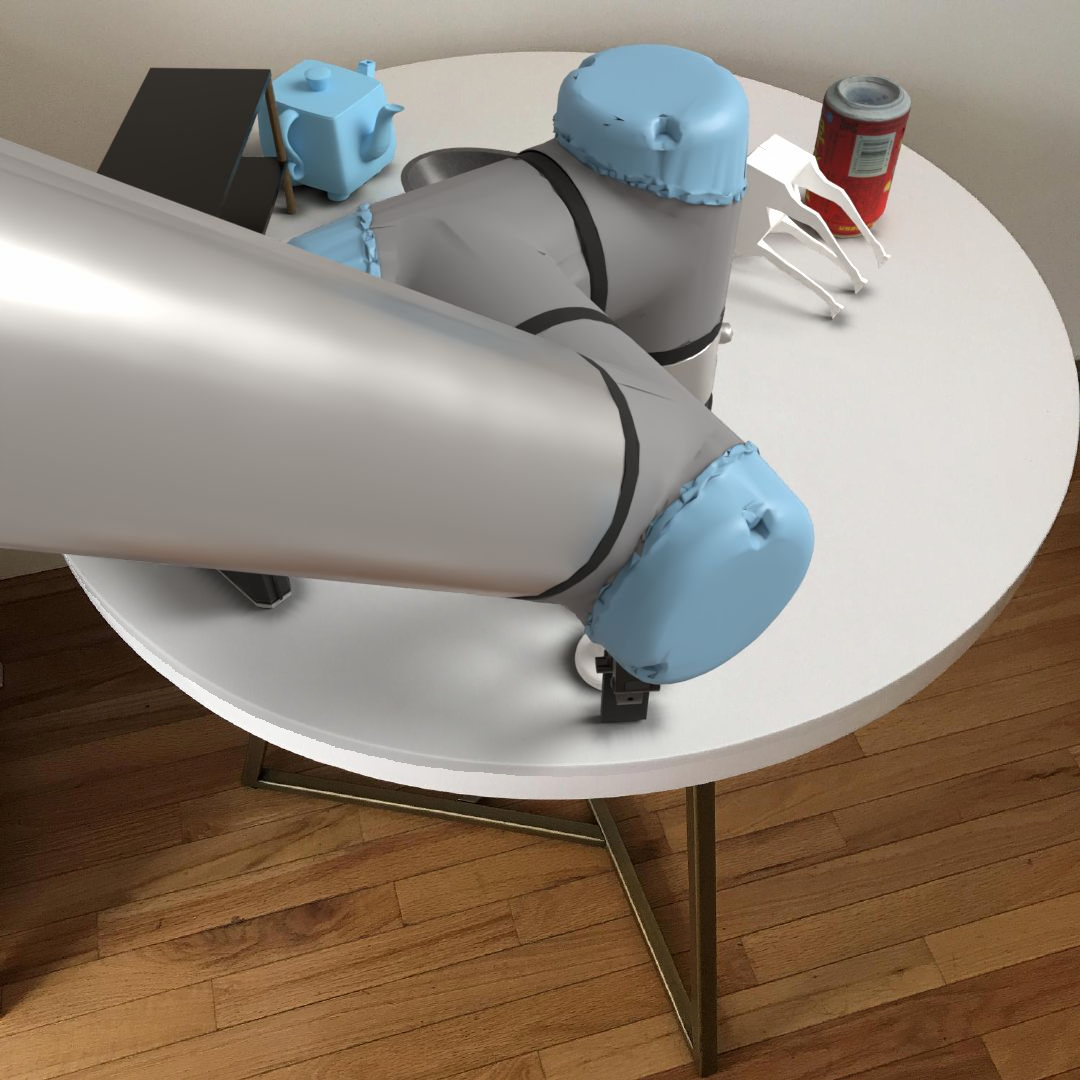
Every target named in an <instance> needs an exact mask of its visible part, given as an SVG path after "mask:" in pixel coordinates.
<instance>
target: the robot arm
mask: <svg viewBox="0 0 1080 1080" xmlns="http://www.w3.org/2000/svg"><path fill="white" fill-rule="evenodd" d="M558 90H559V91H558V93H557V101H556V102H557V103H556V112H555V113H554V114H553V116H552V119H551V120H552V122H553V124H552V126H553V131H552V134H554V137H553V138H551V139H549V140H547V141H545V142H543V143H539V144H536V145H534V146H532V147H528V148H525V149H523V150H521V151H519V152H517V153H518V154H517V155H516V156H514V157H511V158H508V159H505V160H502V161H499V162H496V163H493V164H490V165H487V166H484V167H481V168H478V169H475V170H472V171H469V172H466V173H463V174H460V175H457V176H454V177H451V178H448V179H445V180H442V181H439V182H436V183H433V184H430V185H427V186H424V187H421V188H418V189H415V190H412V191H409V192H406V193H405V192H403V193H401V194H398V195H395V196H392V197H389V198H386V199H382V200H379V201H376V202H374V203H363V204H361V205H359V206H358V207H357V209H356V210H355V212H351V213H349V214H348V215H345V216H343V217H339V218H338V219H335V220H333V221H331V222H329V223H326V224H323V225H321V226H319V227H316V228H314V229H311V230H309V231H307V232H303V233H302V234H299V235H297V236H295V237H293V238H291V239H289V240H288V241H287V242H284V241H281V240H278V239H276V238H273V237H271V236H268V235H266V234H265V235H263V234H260V233H257V232H255V231H252V230H249V229H246V228H244V227H241V226H238V225H236V224H233V223H230V222H227V221H225V220H222V219H219V218H217V217H214V216H211V215H209V214H206V213H203V212H200V211H198V210H195V209H192V208H190V207H187V206H184V205H181V204H179V203H176V202H173V201H171V200H168V199H165V198H163V197H160V196H157V195H154V194H152V193H149V192H146V191H144V190H141V189H138V188H135V187H133V186H130V185H127V184H125V183H122V182H119V181H117V180H114V179H111V178H108V177H106V176H103V175H100V174H98V173H96V172H95V171H93V170H89V169H87V168H84V167H81V166H79V165H75V164H73V163H71V162H68V161H65V160H63V159H59V158H57V157H54V156H51V155H48V154H46V153H43V152H40V151H38V150H35V149H32V148H31V147H27V146H24V145H21V144H20V143H19V144H18V143H16V142H14V141H10V140H8V139H6V138H3V137H0V549H8V550H19V551H29V552H39V553H47V554H59V555H69V556H78V557H87V558H88V557H89V558H99V559H110V560H119V561H129V562H130V561H131V562H137V563H138V562H140V563H149V564H150V563H151V564H157V565H158V564H159V565H168V566H181V567H191V568H200V569H209V570H210V569H211V570H217V569H219V570H229V571H239V572H249V573H259V574H269V575H279V576H288V577H289V578H290V577H292V578H301V579H310V580H311V579H312V580H321V581H331V582H341V583H351V584H361V585H370V586H382V587H392V588H401V589H412V590H423V591H432V592H442V593H450V594H451V593H452V594H461V595H471V596H481V597H490V598H491V597H492V598H501V599H502V598H503V599H510V600H521V601H526V602H532V603H538V604H539V603H540V604H552V605H560V606H563V607H565V608H566V609H568V610H569V611H571V612H572V613H573V614H574V615H575V616H576V618H577V619H578V620H579V621H580V623H581V624H582V626H583V627H584V629H583V632H584V634H585V633H586V635H587V636H588V638H589V639H590V641H591V642H593V643H596V644H599V645H602V646H603V647H604V649H605V650H604V656H603V657H595V666H596V673H597V674H599V673H603V675H602V690H601V692H600V693H601V694H600V695H601V696H600V710H599V711H600V719H601V723H613V722H614V723H615V722H632V721H646V720H647V717H648V708H649V699H650V692H651V693H652V692H660V691H661V685H674V684H678V683H684V682H687V681H690V680H693V679H695V678H698V677H700V676H701V677H702V676H703V675H706V674H708V673H709V672H712V671H714V670H715V669H717V668H719V667H720V666H722V665H724V664H726V663H727V662H728V661H730V660H732V659H733V658H734V657H736V656H737V655H739V654H740V653H741V652H743V650H745V649H746V648H748V647H749V646H750V645H751V644H752V643H754V642H755V641H756V640H757V639H758V638H759V637H760V636H761V635H762V634H763V633H764V632H765V631H766V630H767V629H768V628H769V627H770V626H771V625H772V623H773V622H774V621H775V620H776V619H777V618H778V617H779V615H780V614H781V613H782V612H783V610H784V609H785V608H786V607H787V605H788V604H789V603H790V602H791V600H792V598H793V597H794V596H795V594H796V593H797V591H798V590H799V589H800V587H801V584H802V583H803V581H804V579H805V577H806V576H807V572H808V570H809V567H810V564H811V562H812V558H813V554H814V551H815V540H816V538H815V527H814V523H813V520H812V516H811V515H810V512H809V509H808V508H807V506H806V505H805V503H804V502H803V501H802V500H801V498H799V496H798V495H797V494H796V493H795V492H794V491H793V490H792V489H791V488H790V487H789V485H788V484H787V483H786V482H785V481H784V480H783V479H782V477H781V476H780V475H779V474H778V473H777V472H776V471H775V470H774V469H773V467H772V466H770V464H769V463H768V462H767V461H766V460H765V458H764V457H762V455H761V452H760V448H759V447H758V446H757V445H756V444H755V443H754V442H752V441H751V440H747V441H746V442H745V440H743V439H742V438H741V437H740V436H739V435H738V434H737V433H735V432H734V431H733V430H732V429H731V428H730V427H729V426H728V425H727V424H726V423H724V422H723V421H722V420H721V419H720V418H719V417H718V416H717V415H716V414H715V413H714V412H713V411H712V409H713V400H714V399H713V397H714V395H713V391H714V384H715V378H716V373H717V372H716V371H717V366H718V349H719V345H725V344H727V343H731V341H732V339H733V335H734V331H733V329H732V326H731V324H730V322H725V321H724V316H725V312H726V302H727V297H728V291H729V284H730V278H731V272H732V267H733V266H732V265H733V261H734V260H733V259H734V255H733V254H734V248H735V242H736V236H737V230H738V224H739V218H740V212H741V205H742V199H743V197H744V196H745V193H746V190H747V179H746V167H747V155H748V153H749V152H748V151H749V141H750V140H749V139H750V138H749V137H750V108H749V101H748V97H747V94H746V92H745V90H744V87H743V86H742V84H741V82H740V81H739V80H738V79H737V78H736V76H735V75H734V74H733V73H732V71H730V70H729V69H727V68H725V67H724V66H721V65H719V64H717V63H715V62H714V60H713V59H712V58H711V57H709V56H707V55H705V54H703V53H701V52H697V51H694V50H691V49H688V48H684V47H679V46H675V45H667V44H660V43H659V44H658V43H638V44H628V45H626V44H625V45H620V46H615V47H611V48H608V49H605V50H602V51H597V52H595V53H594V54H590V55H589V56H587V57H586V58H584V59H583V60H582V61H581V63H580V65H579V66H578V67H577V68H576V69H572V70H571V71H570V72H568V74H567V75H566V76H565V77H564V78H563V80H562V82H561V84H560V86H559V89H558Z"/></svg>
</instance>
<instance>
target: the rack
mask: <svg viewBox="0 0 1080 1080" xmlns="http://www.w3.org/2000/svg"><path fill="white" fill-rule="evenodd" d="M272 81H273V79H272V70H271V68H211V67H208V68H207V67H202V68H201V67H149V69H148V71H147V73H146V74H145V77H144V79H143V81H142V82H141V85H140V87H139V88H138V90H137V93H136V94H135V97H134V98H133V100H132V103H131V104H130V106H129V108H128V110H127V112H126V114H125V116H124V118H123V119H122V122H121V124H120V125H119V128H118V130H117V131H116V133H115V136H114V138H113V139H112V142H111V143H110V144H109V147H108V149H107V152H105V154H104V157H103V158H102V161H101V163H100V165H99V166H98V168H97V171H96V172H95V173H98V174H100V175H103V176H106V177H108V178H111V179H114V180H117V181H119V182H122V183H125V184H127V185H130V186H133V187H135V188H138V189H141V190H144V191H146V192H149V193H152V194H154V195H157V196H160V197H163V198H165V199H168V200H171V201H173V202H176V203H179V204H181V205H184V206H187V207H190V208H192V209H195V210H198V211H200V212H203V213H206V214H209V215H211V216H214V217H217V218H219V219H222V220H225V221H227V222H230V223H233V224H236V225H238V226H241V227H244V228H246V229H249V230H252V231H255V232H257V233H260V234H263V235H265V236H266V233H267V231H268V227H269V225H270V221H271V218H272V215H273V212H274V208H275V205H276V202H277V199H278V196H279V193H280V190H281V187H282V190H283V195H284V200H285V205H286V210H287V213H288V214H290V215H294V214H296V213H297V212H298V210H297V209H298V208H297V206H296V200H295V199H296V198H295V194H294V189H293V186H292V183H291V178H290V173H289V168H288V158H287V157H286V152H285V147H284V142H283V136H282V131H281V126H280V121H279V116H278V110H277V105H276V100H275V95H274V89H273V84H272ZM264 95H265V99H266V104H267V109H268V114H269V119H270V124H271V129H272V135H273V140H274V145H275V150H276V155H277V157H263V156H252V155H251V156H247V155H245V156H243V154H244V151H245V149H246V145H247V143H248V140H249V137H250V135H251V132H252V129H253V127H254V124H255V122H256V119H257V117H258V111H259V108H260V106H261V103H262V100H263V98H264Z"/></svg>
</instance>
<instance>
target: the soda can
mask: <svg viewBox="0 0 1080 1080" xmlns="http://www.w3.org/2000/svg"><path fill="white" fill-rule="evenodd" d="M822 99H823V100H822V104H821V105H822V106H821V111H820V116H819V121H818V127H817V133H816V138H815V143H814V148H813V152H812V155H813V156H815V159H816V162H817V165H818V168H819V170H820V171H821V173H822V174H823V175H824V176H825V177H826V179H827V180H828V181H830V182H832V183H833V184H835V185H837V186H838V187H840V188H842V189H843V190H844V191H845V193H846V194H847V196H848V197H849V198H850V200H851V202H852V203H853V205H854V207H855V209H856V210H857V212H858V214H859V215H860V217H861V219H862V220H863V222H864V223H865V225H866V226H867V228H868V229H869V230H870V231H871V229H872V227H874V226H873V225H874V224H875V223H876V222H877V221H878V220H879V219H880V218H881V217H882V216H883V214H884V212H885V210H886V207H887V203H888V201H889V195H890V192H891V187H892V184H893V180H894V176H895V171H896V169H897V168H896V167H897V164H898V160H899V157H900V156H899V155H900V153H901V148H902V144H903V140H904V137H905V131H906V128H907V124H908V121H909V116H910V112H911V109H912V99H911V97H910V95H909V94H908V92H907V91H906V90H905V89H904V88H903V87H901V86H900V85H899V84H897V83H896V82H895V81H893V80H891V79H890V78H887V77H885V76H881V75H874V74H857V75H853V76H849V77H844V78H841V79H838V80H837V81H835V82H833V83H832V84H831V85H829V86H828V87H827V90H825V93H824V95H823V98H822ZM804 201H805V202H804V203H805V205H806V206H807V207H809V208H811V209H812V210H814V211H816V212H817V213H819V215H820V216H821V218H822V219H823V220H824V222H825V223H826V225H827V227H828V228H829V230H830V232H831V233H832V235H833V237H834V238H838V239H850V238H856V237H857V238H859V237H862V236H863V234H862V233H861V231H860V230H859V229H858V227H857V226H856V224H855V223H854V222H853V221H852V220H851V218H850V217H849V216H848V215H847V214H846V212H845V211H844V210H843V209H842V207H841V206H839V205H838V204H836V203H835V202H834V201H831V200H829V199H827V198H824V197H822V196H820V195H818V194H816V193H814V192H812V191H810V190H808V189H806V188H805V194H804Z"/></svg>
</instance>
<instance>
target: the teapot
mask: <svg viewBox="0 0 1080 1080" xmlns="http://www.w3.org/2000/svg"><path fill="white" fill-rule="evenodd" d="M375 73H376V61H374V60H371V59H364V60H361V61H358V65H357V68H356V70H355V71H354V70H352V69H348V68H345V67H342V66H338V65H336V64H330V63H327V62H324V61H319V60H315V59H309V58H308V59H307V58H306V59H304V60H303V61H301V62H300V63H298V64H296V65H295V66H293V67H291V68H290V69H288V70H287V71H285V72H284V73H282V74H280V76H277V78H275V79H274V80H272V84H273V89H274V95H275V100H276V105H277V110H278V116H279V121H280V126H281V131H282V136H283V142H284V147H285V152H286V157H287V158H288V168H289V173H290V178H291V183H292V187H296V186H297V187H298V186H302V185H305V186H307V187H311V188H314V189H317V190H321V191H324V192H327V198H328V199H329V200H330V201H334V202H341V201H345V200H347V199H348V198H349V197H351V196H350V195H351V194H352V193H354V192H355V191H356V190H358V189H359V188H360V187H362V186H363V185H365V183H367V182H368V181H369V180H371V179H372V178H374V176H376V175H377V174H379V173H380V172H381V171H382V169H384V168H385V167H386V166H387V165H389V163H390V162H392V161H393V160H394V158H395V156H396V151H397V150H396V148H397V139H396V131H395V126H394V120H393V119H394V116H395V115H396V114H398V113H400V112H403V111H405V107H404V106H403V105H401V104H395V103H389V101H388V97H387V94H386V91H385V87H384V85H383V84H384V83H382V82H381V81H379V80H378V79H376V78H375V77H376V75H375ZM257 126H258V135H259V142H260V143H259V144H260V148H261V149H260V150H261V154H262V157H277V155H276V150H275V145H274V140H273V135H272V129H271V124H270V119H269V114H268V109H267V104H266V99H265V95H264V98H263V100H262V103H261V106H260V108H259V111H258V114H257Z"/></svg>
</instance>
